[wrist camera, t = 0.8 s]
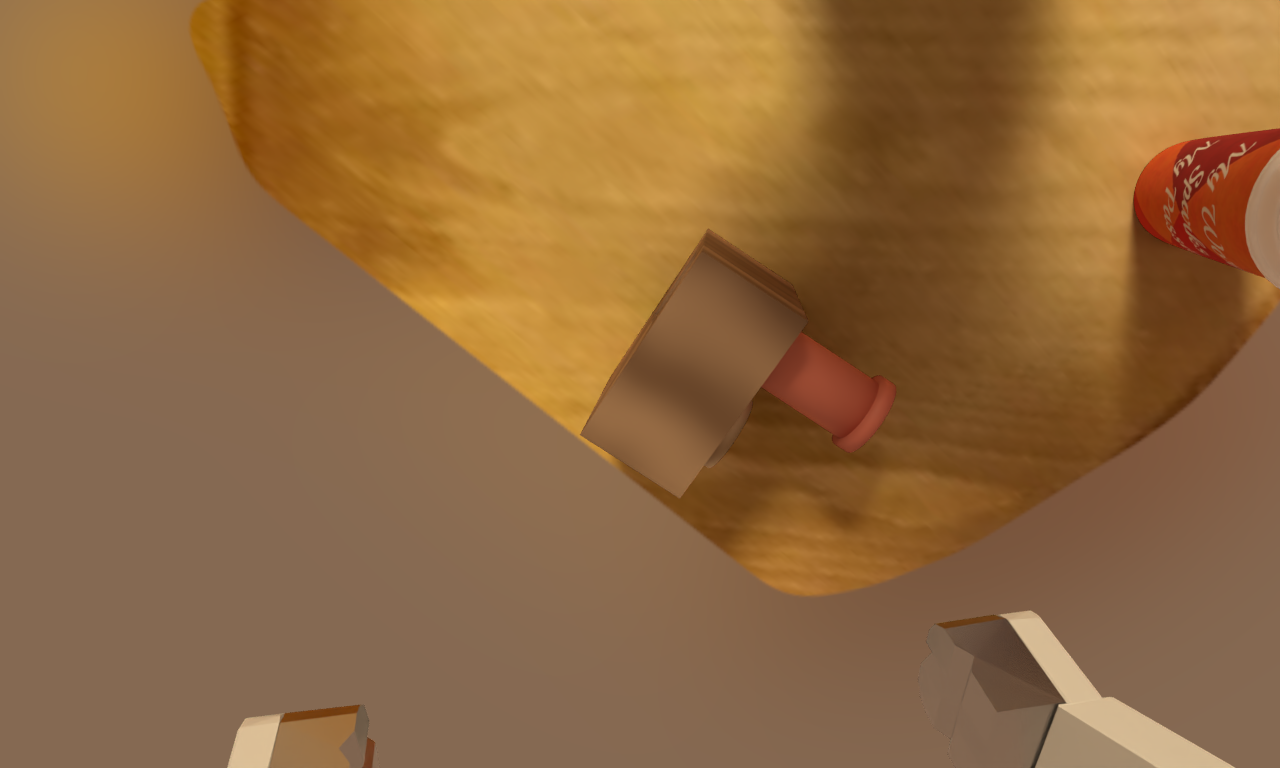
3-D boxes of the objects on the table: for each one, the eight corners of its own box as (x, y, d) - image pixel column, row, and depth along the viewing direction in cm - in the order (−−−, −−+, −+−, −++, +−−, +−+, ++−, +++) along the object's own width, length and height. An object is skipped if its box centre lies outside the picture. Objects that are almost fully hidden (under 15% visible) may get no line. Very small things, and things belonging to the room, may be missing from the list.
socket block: (708, 228, 50) (702, 251, 39) (806, 293, 50) (826, 333, 40) (610, 377, 53) (580, 434, 42) (703, 437, 53) (696, 509, 43)
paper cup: (1107, 138, 46) (1260, 134, 33) (1259, 105, 45) (1482, 87, 32) (1118, 277, 48) (1268, 327, 35) (1264, 249, 47) (1478, 290, 34)
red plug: (728, 268, 46) (728, 281, 42) (887, 374, 47) (903, 397, 42) (684, 334, 47) (679, 352, 43) (839, 436, 48) (850, 464, 44)
